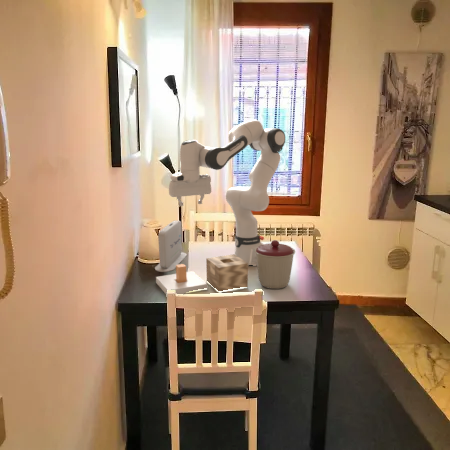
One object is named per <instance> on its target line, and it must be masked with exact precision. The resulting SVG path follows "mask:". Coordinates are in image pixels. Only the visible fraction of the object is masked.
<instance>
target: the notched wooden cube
mask: <svg viewBox="0 0 450 450" xmlns="http://www.w3.org/2000/svg"><path fill="white" fill-rule="evenodd" d="M205 263H206V282H207V281H208V282H209V283H210V284H211V285H212V286H213V287H214V288H216V289H217V290H218V291H223V290H228V289H233V288H240V287H248V288H249V265H248V263H247V262H245V261H244V260H242V259H241V258H239V257H237V256H236V255H235V253H234V254H227V255H220V256H213V257H208V258H207V257H206V262H205Z"/></svg>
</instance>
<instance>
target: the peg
mask: <svg viewBox="0 0 450 450" xmlns="http://www.w3.org/2000/svg"><path fill="white" fill-rule="evenodd" d="M186 272H187V265H185V264H184V263H180V264H179V265H176V268H175V274H176V282H177V283H181V282H187V277H186Z"/></svg>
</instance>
